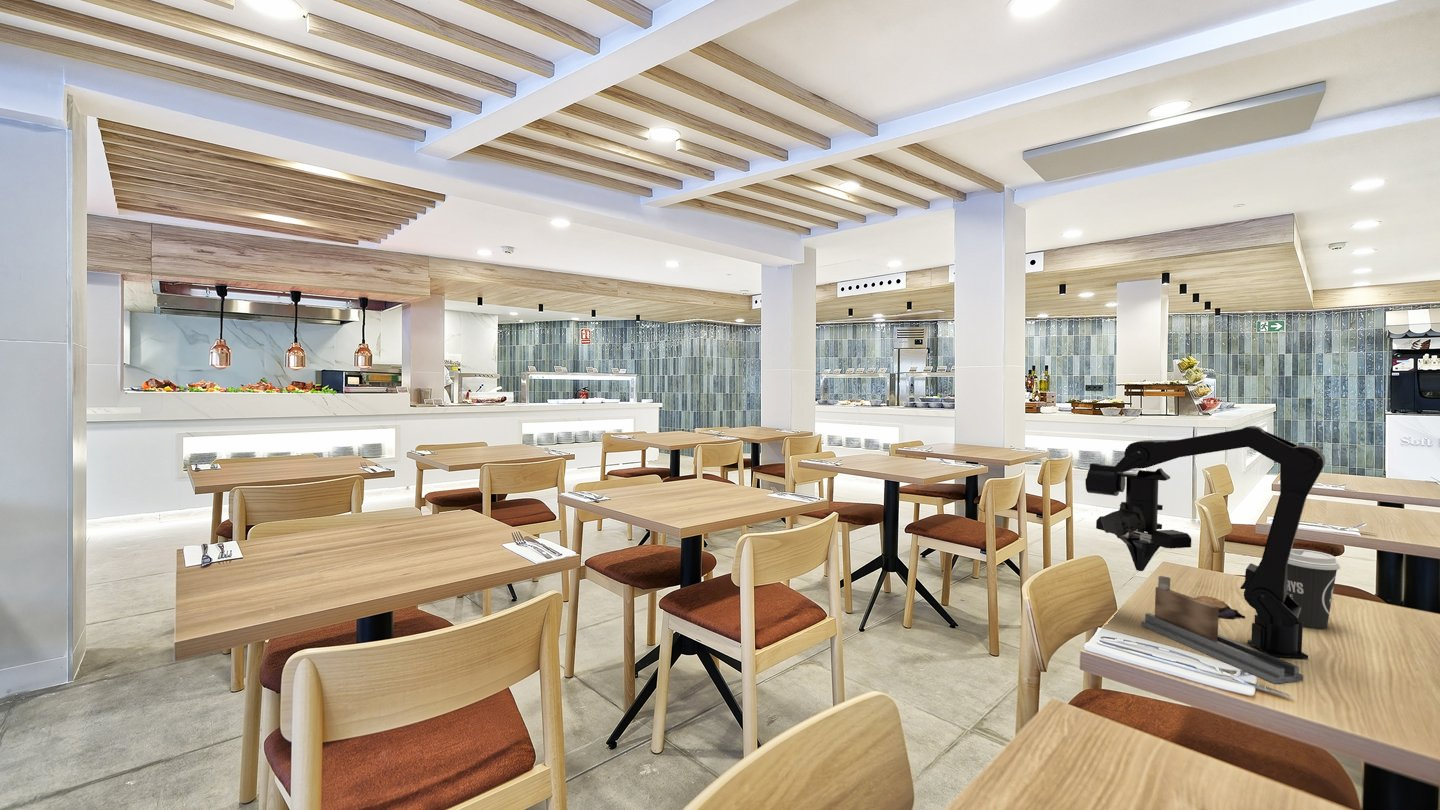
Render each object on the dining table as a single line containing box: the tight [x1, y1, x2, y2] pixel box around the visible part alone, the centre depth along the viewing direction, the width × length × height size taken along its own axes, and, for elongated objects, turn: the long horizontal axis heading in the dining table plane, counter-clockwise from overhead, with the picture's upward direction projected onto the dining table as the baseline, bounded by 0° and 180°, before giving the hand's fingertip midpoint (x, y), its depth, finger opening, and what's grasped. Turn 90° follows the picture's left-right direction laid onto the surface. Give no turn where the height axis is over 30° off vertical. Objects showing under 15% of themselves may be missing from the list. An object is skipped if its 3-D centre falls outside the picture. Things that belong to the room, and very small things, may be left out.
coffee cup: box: [1287, 548, 1341, 630], centre depth 133 cm, size 10×10×15 cm
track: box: [1140, 612, 1304, 685], centre depth 119 cm, size 26×6×2 cm, turn 12°
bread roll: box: [1194, 595, 1246, 620], centre depth 140 cm, size 11×8×4 cm
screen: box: [1154, 575, 1219, 641], centre depth 125 cm, size 12×2×9 cm, turn 12°
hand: (1139, 570), depth 135 cm, fingers closed
